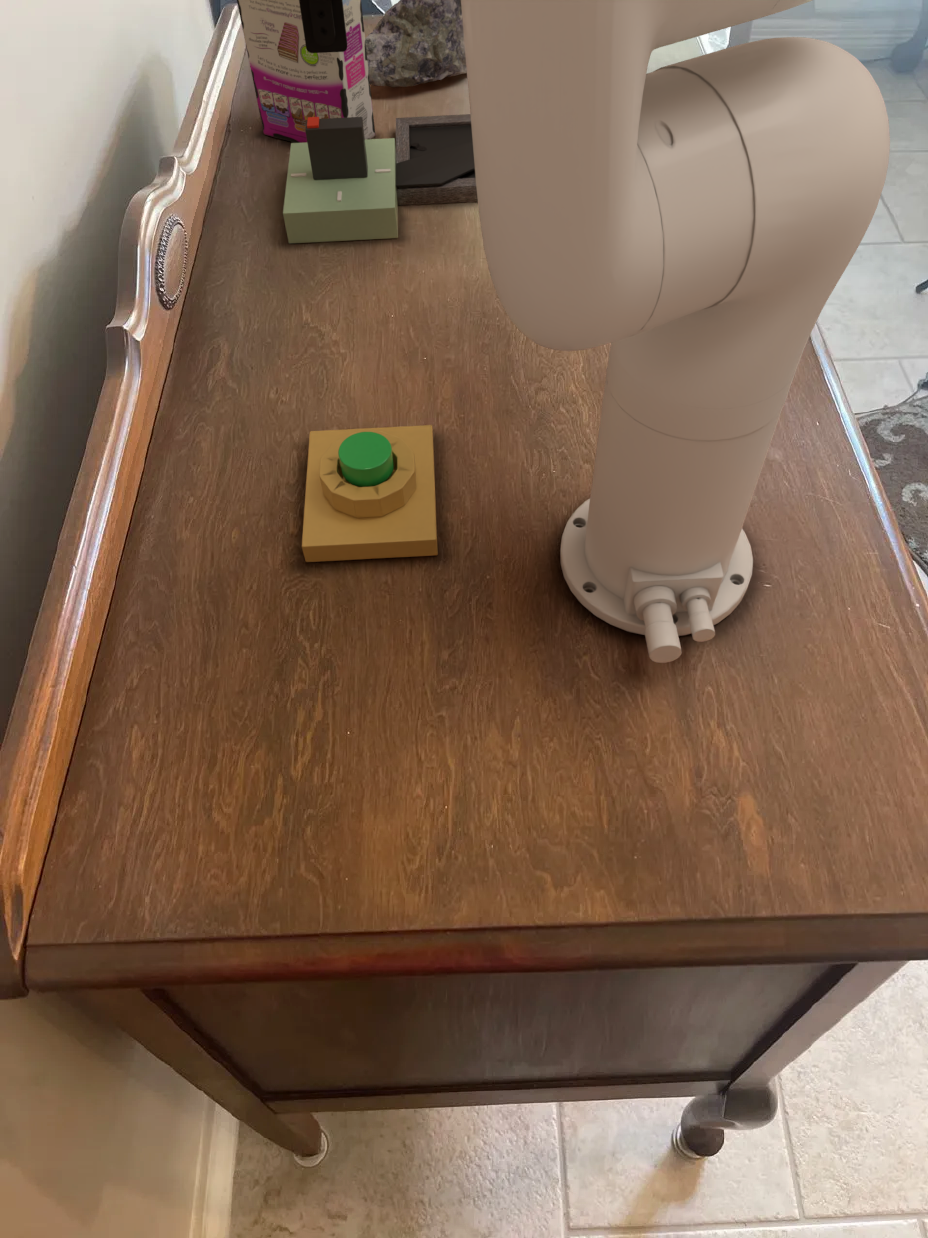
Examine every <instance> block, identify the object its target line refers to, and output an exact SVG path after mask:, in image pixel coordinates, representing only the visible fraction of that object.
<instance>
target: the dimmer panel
mask: <svg viewBox="0 0 928 1238" xmlns="http://www.w3.org/2000/svg"><path fill="white" fill-rule="evenodd" d="M365 146H366V154H367V163H368V176H367V177H355V178H335V179H316V180H314V179H313V174H312V168H311V162H310V156H309V150H308V144H307V142H305V143H295V142H291V143H290V148H289V149H290V150H289V158H288V164H287V165H288V166H287V175H286V183H285V192H284V200H283V207H282V216H283V221H284V226H285V233H286V236H287V241H288V244H308V243H327V242H345V241H347V242H348V241H364V240H365V241H366V240H367V241H368V240H387V239H398V238H399V212H398V211H399V209H398V208H399V207H398V206H399V205H398V202H397V191H396V137H388V138H373V139H365Z"/></svg>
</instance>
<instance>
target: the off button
mask: <svg viewBox="0 0 928 1238" xmlns="http://www.w3.org/2000/svg"><path fill="white" fill-rule="evenodd" d="M338 455H339V460H340V466H341V471H342V475H343V477H344V478H345V479H346V480H347V481H348V482H349V483H351V484H353V485H355V486H359V487H372V486H376V485H379V484H381V483H383V482H385V481H386V480H387V479H388V478H389V477H390V476H391V474H392V472H393V469H394V463H393V455H392V447H391V444H390V442H389V441H388V439H387V438H385V437H384V436H383V435H381V434H378V433H375V432H360V433H356V434H353V435H351V436H349V437H348V438H346V439H345V440H344V441H343V442H342V443H341V445H340V447H339V451H338Z"/></svg>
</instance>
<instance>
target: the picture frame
mask: <svg viewBox="0 0 928 1238" xmlns="http://www.w3.org/2000/svg"><path fill="white" fill-rule="evenodd" d="M395 148H396V191H397V202H398V206H414V205H415V206H417V205H418V206H419V205H434V204H454V203H455V204H456V203H474V202H475V203H476V202H478V198H477V188H476V176H475V164H474V152H473V139H472V127H471V115H470V113H465V114H449V115H447V114H446V115H428V116H427V115H425V116H408V117H407V116H405V117H395Z"/></svg>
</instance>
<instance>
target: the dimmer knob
mask: <svg viewBox="0 0 928 1238" xmlns="http://www.w3.org/2000/svg"><path fill="white" fill-rule="evenodd" d="M305 132H306V138H307V144H308V150H309V156H310V162H311V168H312V174H313V179H314V180H316V179H335V178H355V177H367V176H368V163H367V154H366V146H365V137H364V128H363V119H362V117H348V118H328V119H319V117H308V120H306V128H305Z"/></svg>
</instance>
